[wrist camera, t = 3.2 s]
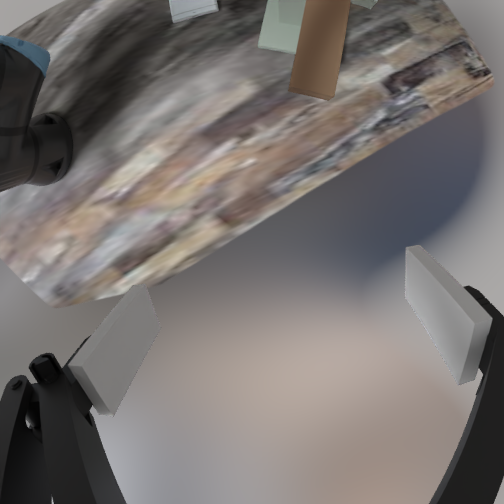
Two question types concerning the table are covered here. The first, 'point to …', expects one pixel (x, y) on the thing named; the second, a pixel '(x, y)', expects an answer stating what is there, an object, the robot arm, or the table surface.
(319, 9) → the walnut bar
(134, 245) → the table surface
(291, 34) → the sage stand
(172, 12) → the hard drive
